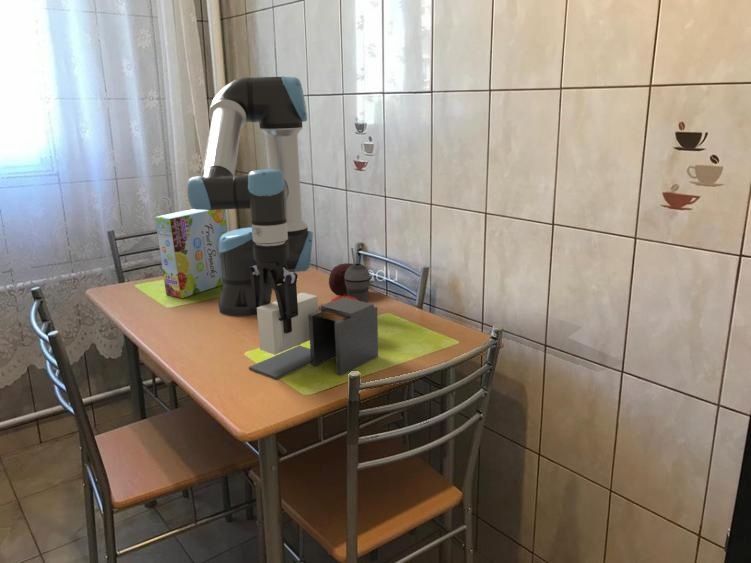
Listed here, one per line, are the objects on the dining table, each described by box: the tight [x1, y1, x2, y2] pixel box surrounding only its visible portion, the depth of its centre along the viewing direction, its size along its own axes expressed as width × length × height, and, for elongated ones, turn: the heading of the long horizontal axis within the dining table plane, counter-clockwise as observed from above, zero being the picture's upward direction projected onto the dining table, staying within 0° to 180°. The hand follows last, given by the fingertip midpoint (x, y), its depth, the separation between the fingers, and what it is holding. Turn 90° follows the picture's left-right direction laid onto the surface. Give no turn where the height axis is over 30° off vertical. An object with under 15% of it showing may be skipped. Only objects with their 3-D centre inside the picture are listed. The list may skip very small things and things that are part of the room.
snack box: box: [154, 208, 228, 299], centre depth 201 cm, size 22×9×26 cm, turn 144°
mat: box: [248, 345, 311, 380], centre depth 146 cm, size 9×16×1 cm, turn 141°
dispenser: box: [308, 297, 379, 377], centre depth 144 cm, size 9×13×13 cm
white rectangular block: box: [256, 292, 319, 356], centre depth 143 cm, size 5×14×10 cm, turn 140°
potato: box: [328, 262, 353, 297], centre depth 193 cm, size 11×13×10 cm
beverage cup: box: [344, 247, 371, 303], centre depth 171 cm, size 7×7×20 cm
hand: (277, 342), depth 141 cm, fingers closed on white rectangular block, 5 cm apart
